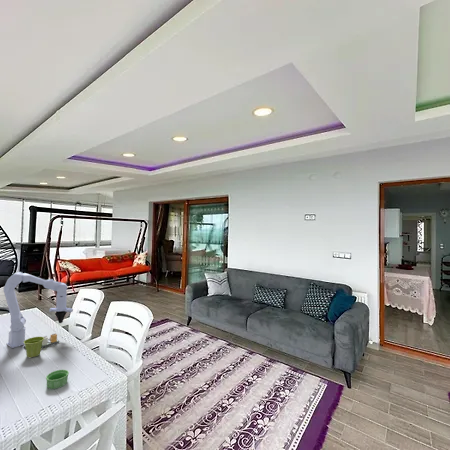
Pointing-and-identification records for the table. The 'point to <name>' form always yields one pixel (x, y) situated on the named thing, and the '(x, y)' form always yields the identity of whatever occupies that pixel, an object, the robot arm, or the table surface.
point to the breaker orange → (53, 337)
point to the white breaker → (45, 340)
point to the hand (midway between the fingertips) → (60, 322)
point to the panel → (47, 344)
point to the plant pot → (33, 346)
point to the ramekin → (57, 379)
